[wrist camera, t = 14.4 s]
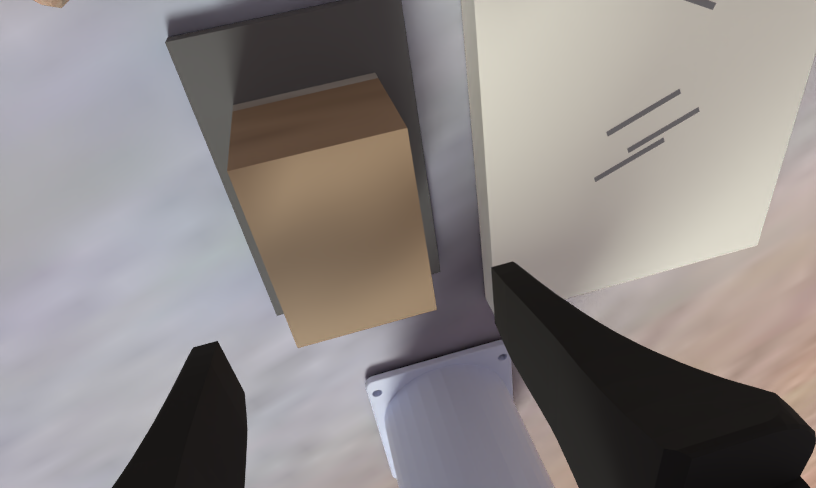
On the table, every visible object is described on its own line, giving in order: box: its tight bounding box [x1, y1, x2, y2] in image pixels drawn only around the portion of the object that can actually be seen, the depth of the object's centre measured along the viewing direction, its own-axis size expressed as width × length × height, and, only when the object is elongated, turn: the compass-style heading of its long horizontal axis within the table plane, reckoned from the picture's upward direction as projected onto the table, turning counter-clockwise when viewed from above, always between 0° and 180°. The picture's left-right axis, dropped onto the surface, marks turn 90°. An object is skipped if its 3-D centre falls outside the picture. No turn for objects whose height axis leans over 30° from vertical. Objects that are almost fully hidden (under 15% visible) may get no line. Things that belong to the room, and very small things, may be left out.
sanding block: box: [227, 73, 437, 348], centre depth 19 cm, size 7×5×5 cm
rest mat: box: [165, 0, 440, 316], centre depth 21 cm, size 12×8×1 cm, turn 9°
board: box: [461, 0, 816, 314], centre depth 22 cm, size 18×14×2 cm
